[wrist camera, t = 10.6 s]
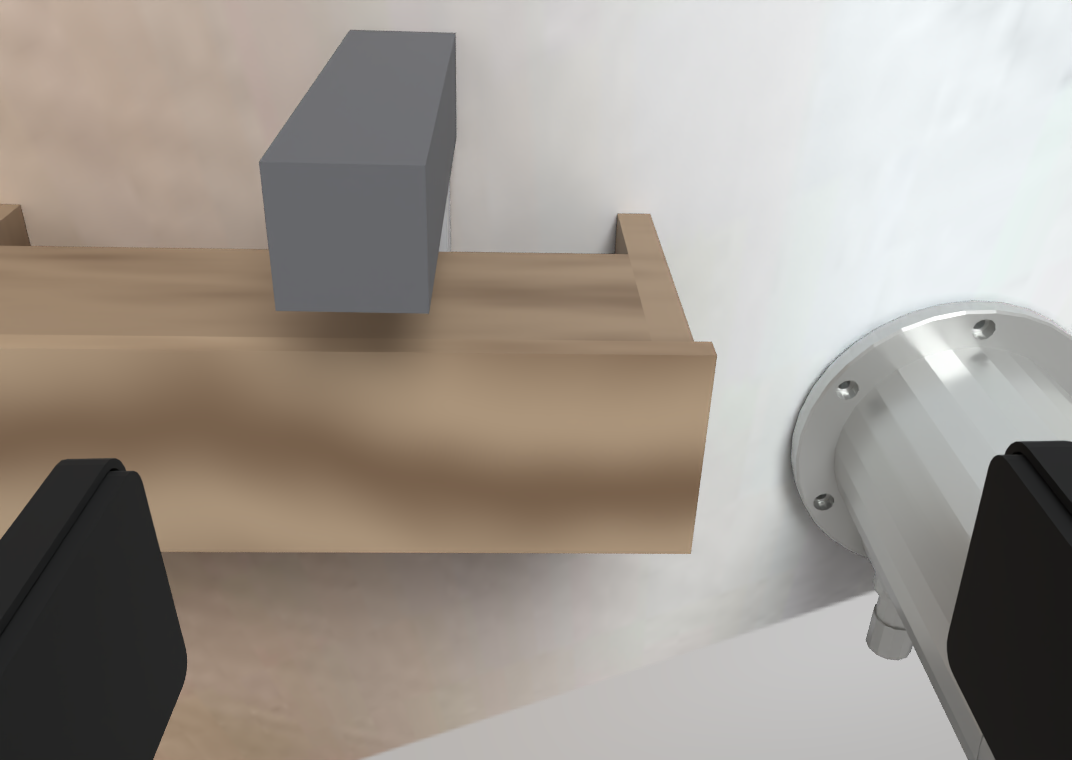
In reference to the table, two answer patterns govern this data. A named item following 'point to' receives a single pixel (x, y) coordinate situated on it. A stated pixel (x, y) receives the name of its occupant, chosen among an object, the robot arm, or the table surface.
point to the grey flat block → (365, 178)
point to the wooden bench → (362, 399)
